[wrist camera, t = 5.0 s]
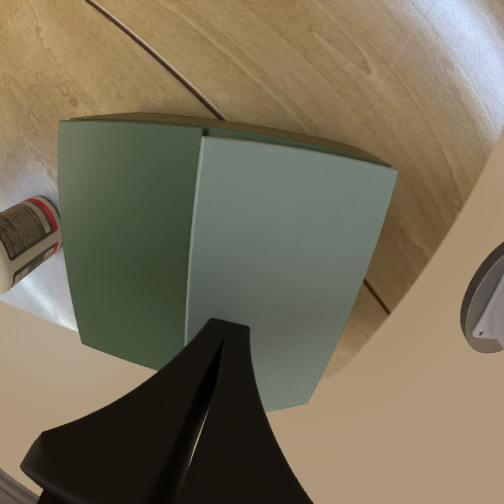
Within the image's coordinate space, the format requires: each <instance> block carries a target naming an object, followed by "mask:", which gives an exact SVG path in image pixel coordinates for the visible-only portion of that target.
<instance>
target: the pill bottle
mask: <svg viewBox="0 0 504 504" xmlns="http://www.w3.org/2000/svg"><path fill="white" fill-rule="evenodd" d="M61 243H62V231H61V221H60V218H59V216H58V214H57V212H56V210H55V209H54V207H53V206H52V205H51V204H50V203H49V202H48V201H47V200H46V199H44V198H42V197H37V196H36V197H32V198H29V199H27V200H25V201H22V202H20V203H19V204H17V205H15V206H12V207H11V208H9V209H7V210H5V211H3V212H1V213H0V294H3V293H5V292H7V291H8V290H10V289H11V288H12V287H13V286H14V285H16V284H17V283H18V282H19V281H20V280H22V279H23V278H24V277H25V276H26V275H28V274H29V273H30V272H31V271H33V270H34V269H35V268H36V267H38V266H39V265H40V264H42V263H43V262H44V261H46V260H47V259H48V258H50V257H51V256H52V255H53V254H55V253H56V252H57V251H58V250H59V248H60V246H61Z"/></svg>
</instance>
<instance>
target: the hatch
mask: <svg viewBox="0 0 504 504" xmlns="http://www.w3.org/2000/svg"><path fill="white" fill-rule="evenodd" d="M397 175H398V170H396V169H393V168H390V167H386V166H382V165H378V164H374V163H370V162H366V161H361V160H357V159H352V158H348V157H343V156H338V155H333V154H328V153H323V152H318V151H312V150H307V149H301V148H295V147H289V146H282V145H276V144H269V143H262V142H254V141H246V140H237V139H228V138H219V137H208V136H202V138H201V145H200V153H199V161H198V169H197V178H196V186H195V196H194V205H193V216H192V227H191V238H190V250H189V264H188V279H187V296H186V316H185V342H184V347H185V346H186V345H187V344H188V343H189V342H190V341H191V340H192V339H193V338H194V337H195V336H196V334H197V333H198V332H199V331H200V330H201V329H202V327H203V326H204V325H205V324H206V322H207V321H208V319H210V318H216V319H220V320H225V321H229V322H234V323H238V324H243V325H247V326H249V327H250V329H251V330H250V349H251V358H252V364H253V369H254V374H255V379H256V383H257V387H258V391H259V395H260V398H261V402H262V405H263V408H264V411H265V412H270V411H275V410H280V409H285V408H290V407H294V406H298V405H303V404H307V403H308V402H309V400H310V398H311V396H312V394H313V392H314V390H315V388H316V386H317V384H318V383H319V381H320V379H321V377H322V374H323V372H324V370H325V368H326V366H327V364H328V362H329V360H330V358H331V356H332V354H333V351H334V349H335V347H336V345H337V343H338V340H339V338H340V336H341V334H342V331H343V329H344V327H345V325H346V322H347V320H348V317H349V315H350V313H351V310H352V308H353V305H354V303H355V301H356V298H357V296H358V293H359V290H360V288H361V285H362V283H363V280H364V277H365V275H366V272H367V269H368V267H369V264H370V261H371V258H372V256H373V253H374V250H375V247H376V244H377V241H378V238H379V235H380V232H381V229H382V226H383V223H384V220H385V217H386V213H387V210H388V207H389V204H390V200H391V197H392V193H393V190H394V186H395V183H396V179H397ZM208 410H209V409H208ZM207 413H208V412H207ZM206 416H207V414H206ZM205 419H206V417H205ZM204 421H205V420H204Z"/></svg>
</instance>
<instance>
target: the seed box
mask: <svg viewBox="0 0 504 504" xmlns="http://www.w3.org/2000/svg"><path fill="white" fill-rule="evenodd" d="M202 136H208V137H219V138H228V139H237V140H246V141H254V142H262V143H269V144H276V145H282V146H289V147H295V148H301V149H307V150H312V151H318V152H323V153H328V154H333V155H338V156H343V157H348V158H352V159H357V160H361V161H366V162H370V163H374V164H378V165H382V166H386V167H390V168H391V167H392V166H391V165H390V164H388V163H386V162H384V161H382V160H380V159H379V158H377V157H375V156H373V155H371V154H369V153H367V152H365V151H363V150H361V149H359V148H357V147H353V146H350V145H346V144H342V143H338V142H334V141H330V140H326V139H322V138H317V137H313V136H309V135H304V134H299V133H295V132H290V131H285V130H279V129H274V128H269V127H263V126H257V125H251V124H245V123H238V122H231V121H224V120H216V119H208V118H199V117H190V116H179V115H167V114H152V113H119V114H106V115H95V116H86V117H77V118H70V119H69V120H63V121H59V136H58V188H59V207H60V220H61V231H62V240H63V249H64V256H65V263H66V270H67V276H68V282H69V288H70V293H71V298H72V303H73V308H74V313H75V317H76V321H77V326H78V330H79V334H80V338H81V342H82V344H84V345H86V346H89V347H92V348H94V349H97V350H99V351H102V352H104V353H107V354H110V355H113V356H115V357H118V358H121V359H124V360H127V361H129V362H132V363H136V364H138V365H141V366H144V367H148V368H151V369H154V370H157V371H159V370H160V369H161V368H163V367H164V366H165V365H166V364H167V363H168V362H170V361H171V360H172V359H173V358H174V357H175V356H176V355H177V354H178V353H179V352H180V351H181V350H182V349H183V348H184V342H185V316H186V296H187V279H188V264H189V250H190V238H191V227H192V216H193V205H194V196H195V186H196V178H197V169H198V161H199V153H200V145H201V138H202Z"/></svg>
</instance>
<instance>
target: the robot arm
mask: <svg viewBox="0 0 504 504" xmlns="http://www.w3.org/2000/svg"><path fill="white" fill-rule="evenodd" d="M250 330H251V329H250V327H249V326H247V325H243V324H238V323H234V322H229V321H225V320H220V319H216V318H210V319H208V321H207V322H206V324H205V325H204V326H203V327H202V329H201V330H200V331H199V332H198V333H197V334H196V336H195V337H194V338H193V339H192V340H191V341H190V342H189V343H188V344H187V345H186V346H185V347H184V348H183V349H182V350H181V351H180V352H179V353H178V354H177V355H176V356H175V357H174V358H173V359H172V360H171V361H170V362H168V363H167V364H166V365H165V366H164V367H163V368H161V369H160V370H159V371H158V372H157V373H156V374H154V375H153V376H152V377H151V378H149V379H148V380H146V381H145V382H144V383H142V384H141V385H140V386H138V387H137V388H135V389H134V390H132V391H131V392H129V393H128V394H126V395H124V396H123V397H121V398H119V399H118V400H116V401H114V402H113V403H111V404H109V405H107V406H105V407H104V408H102V409H99V410H98V411H95V412H93V413H91V414H89V415H87V416H85V417H82V418H80V419H78V420H75V421H73V422H70V423H67V424H64V425H62V426H59V427H56V428H53V429H50V430H47V431H43V432H42V433H41V435H40V436H39V437H38V438H37V439H36V440H35V442H34V443H33V445H32V446H31V448H30V449H29V451H28V453H27V454H26V456H25V458H24V460H23V461H22V463H21V465H20V468H21V470H22V471H23V472H24V473H25V474H26V475H27V476H28V477H29V478H30V479H31V480H33V481H34V482H35V483H36V484H37V485H39V486H40V487H41V488H42V489H44V490H43V492H42V494H41V496H38V495H36V494H35V493H33V492H32V491H30V490H29V489H28V488H26V487H25V486H23V485H22V484H20V483H19V482H18V481H16V480H15V479H14V478H12V477H11V476H10V475H8V474H7V473H6V472H4V471H3V470H2V469H1V468H0V504H313V502H312V501H311V499H310V498H309V496H308V495H307V494H306V492H305V491H304V489H303V488H302V486H301V485H300V483H299V481H298V480H297V478H296V477H295V475H294V474H293V472H292V470H291V468H290V467H289V464H288V463H287V461H286V459H285V457H284V455H283V453H282V451H281V449H280V447H279V445H278V443H277V441H276V439H275V436H274V434H273V432H272V429H271V427H270V424H269V422H268V419H267V417H266V414H265V411H264V408H263V405H262V402H261V398H260V395H259V391H258V387H257V383H256V379H255V374H254V369H253V364H252V358H251V349H250ZM472 335H473V336H474V337H477V338H487V339H497V340H498V342H499V343H500V345H501V346H502V348H503V349H504V272H503V274H502V276H501V279H500V281H499V283H498V285H497V287H496V289H495V291H494V293H493V295H492V297H491V299H490V301H489V302H488V304H487V306H486V308H485V310H484V312H483V313H482V315H481V317H480V319H479V320H478V322H477V324H476V326H475V327H474V329H473V331H472ZM208 409H209V410H208ZM207 412H208V413H207ZM206 414H207V416H206ZM205 417H206V419H205ZM204 420H205V422H204ZM203 422H204V425H203V428H202V431H201V434H200V437H199V440H198V443H197V446H196V449H195V451H194V454H193V457H192V460H191V456H192V452H193V449H194V446H195V443H196V440H197V437H198V435H199V432H200V429H201V427H202V424H203ZM190 460H191V463H190ZM189 463H190V465H189ZM188 467H189V468H188Z"/></svg>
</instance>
